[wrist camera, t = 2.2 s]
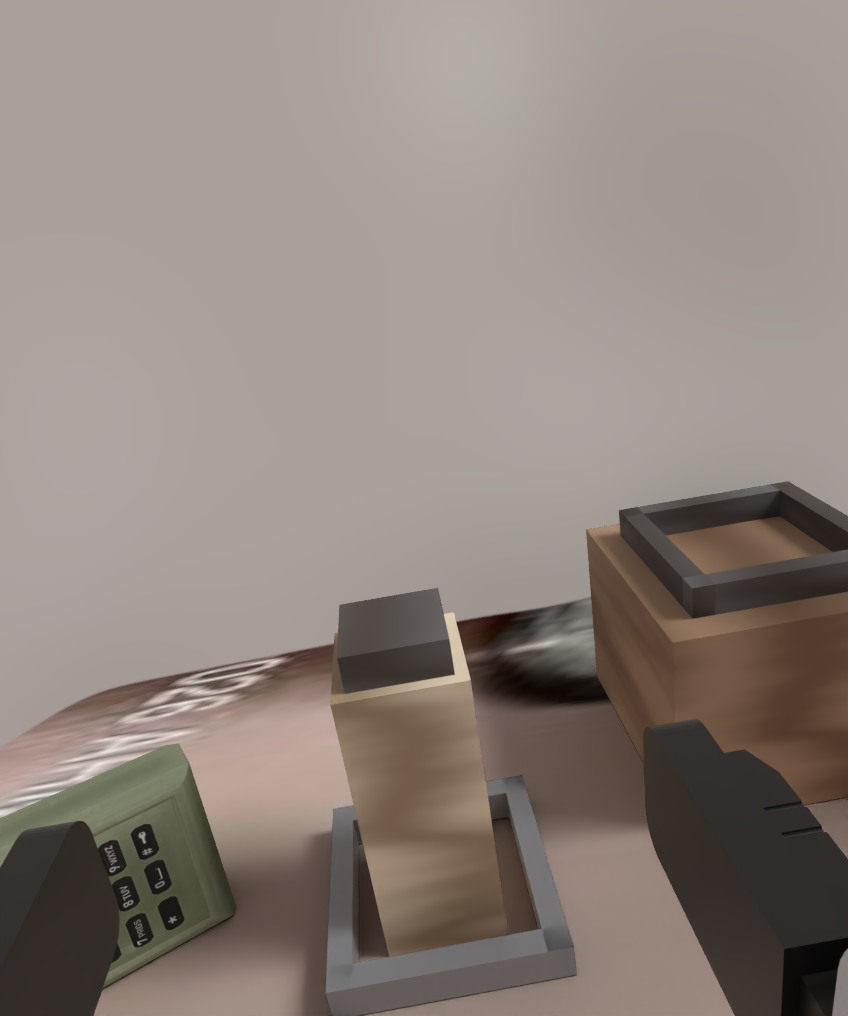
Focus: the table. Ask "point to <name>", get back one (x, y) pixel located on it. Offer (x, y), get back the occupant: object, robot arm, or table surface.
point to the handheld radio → (144, 851)
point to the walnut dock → (731, 626)
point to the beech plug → (416, 771)
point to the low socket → (450, 966)
